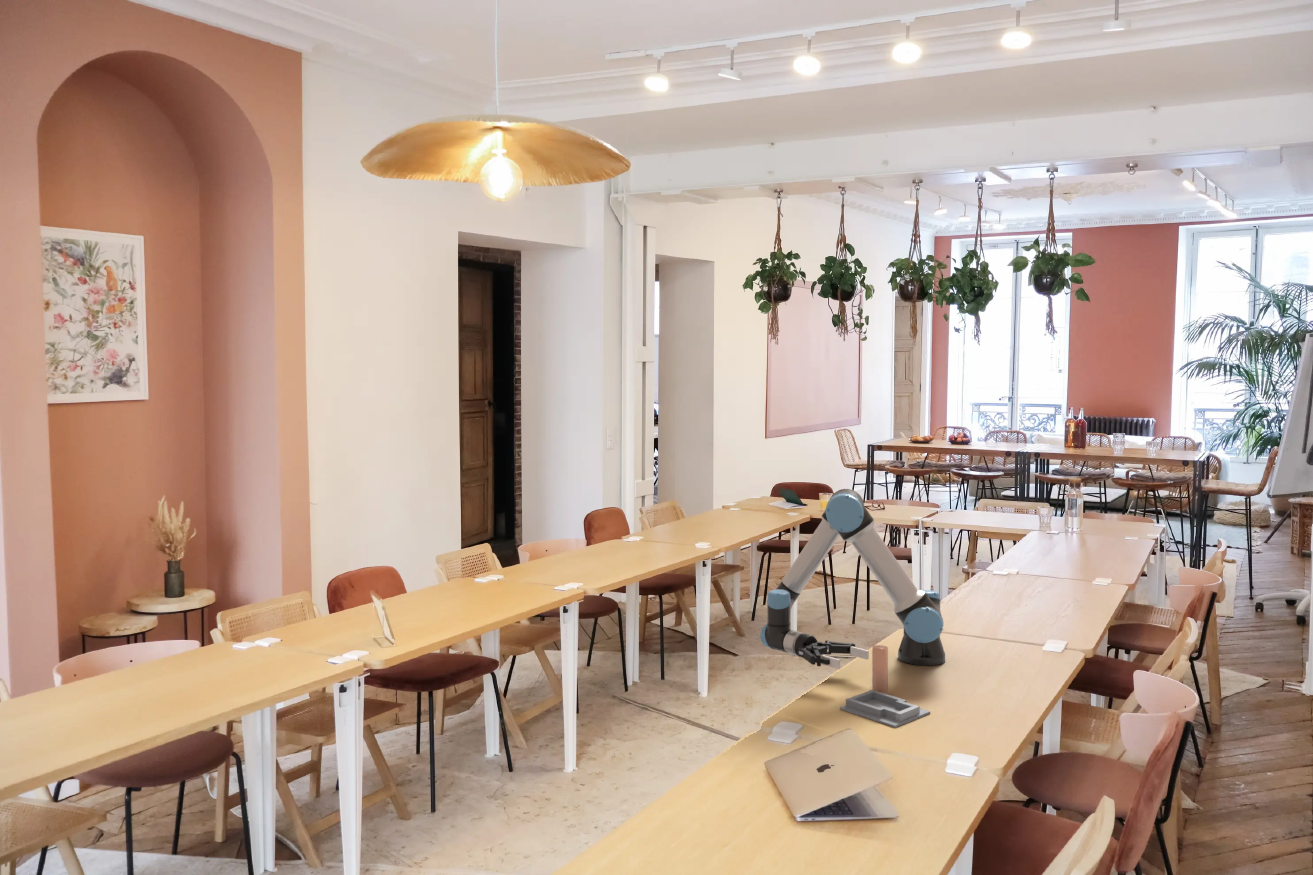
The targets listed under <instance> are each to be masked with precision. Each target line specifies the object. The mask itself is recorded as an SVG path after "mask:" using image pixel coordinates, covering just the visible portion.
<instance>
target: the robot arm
mask: <svg viewBox="0 0 1313 875" xmlns="http://www.w3.org/2000/svg"><path fill="white" fill-rule="evenodd" d="M874 525H875V519H874V518H873V517H872V515H871V513H870V511H868V509H867V508H866V506H865V501H864V499H863V497H862V496H861V495H860V494H859V492H857V491H855V490H854V489H851V488H841V489H839V490H837V491H835V492H834V493H833V494H832V495H831V496H830V498H829V500H828V501H827V503H826V507H825V510H824V511H823V513H822V515H821V521H820V523H819V524H818V526H817V527H816V528H815V530H814V532H813V533H812V535H811V537H810V538H809V540H808V541H807V542H806V544H805V545H804V547H803V548H802V550H800V551H801V552H800V553H799V554H798V556H797V558H796V559H795V560H794V562H793V563H792V565H791V566H790V568H789V569H788V571H787V572H786V574H785V575H784V577H783V578H782V580H781V582H780V583H779V584H778V586H777V587H776V588H775V589H771V590H769V591H768V592H767V597H766V598H767V600H766V603H767V604H766V606H767V610H766V611H767V612H766V613H767V624H765V625H763V627H762V628H761V632H760V633H759V639H760V642H761V643H762V645H763V646H764V647H768V648H770V649H772V650H774V651H775V650H776V651H779V652H782V653H786V654H790V655H792V656H793V657H796V656H797V657H800V658H801V659H804V660H805V661H806V662H808V663H809V664H810V665H812V666H814V665H816V667H821V666H822V665H824V666H827V667H829V668H830V667H831V668H834V669H838V670H840V669H841V659H840V658H835V657H832V656H829V655H832V654H843V655H846V654H847V655H850V656H852V657H857V658H860V659H863V660H865V661H866V660H867V661H868V660H869V659H870V658H869V656H870V655H869V650H868V649H864V648H861V647H856V644H855V643H853V642H851V643H849V642H841V641H840V642H839V641H831V640H828V639H827V640H826V639H825V640H824V642H823V641H818V640H817V638H816V637H815V636H814V635H812V634H808V633H804V632H801V631H797V630H795V629H794V630H793V629H791V612H792V608H793V606H794V604H795V602H796V601H797V600H798V598H799V597H800V595H801V593H802V591H803V590H804V588H805V587H806V586H807V585H808V583H809V582H810V580H811V579H812V577H813V575H814V574H815V572H816V571H817V570H818V568H819V567H820V565H821V564H822V562H823V561H824V560H825V558H826V557H827V555H828V553H829V552H830V551H831V549H832V548H833V546H834V545H835V544H836V541H837V540H838V539H839V537H841V539H842V540H843V541H845V542H848V543H851V544H852V546H853V548H854V550H856V551H857V553H858V555H859V556H860V557H861V558H862V560H863V562H864V563H865V564H866V566H867V567H868V569H869V570H870V571H871V573H872V574H873V575H874V577H875V579H876V580H877V581H878V583H879V584H880V585H881V587H882V588H883V590H884V591H885V593H886V594H887V596H888V597H889V598H890V599H891V601H892V602H893V604H894V606H893V612H894V613H895V615H896V616H897V618H898V619H899V621H900V622H901V623H902V625H903V636H902V638H901V641H900V645H899V648H898V650H897V651H898V652H897V659H898V660H899V661H901V662H904V663H906V664H908V665H909V664H910V665H915V666H925V667H926V666H937V665H942V664H944V663H945V662H946V652H945V650H944V646H943V642H942V639H941V634H942V631H943V629H944V618H943V616H942V613H941V601H942V599H941V594H940V592H939V591H936V590H929V589H918V588H917V587H916V585H915V584H914V582H913V580H911V579H910V577H909V575H908V573H906V571H905V569H904V568H903V567H902V566H901V563H899V561H898V560H897V558H896V557H895V555H894V554H893V553H892V551H891V550H890V548H889V547H888V546H887V544H886V543H885V542H884V540H883V539H882V538H881V536H880V534H879V532H877V530H876V529H875V528H874V527H875V526H874Z"/></svg>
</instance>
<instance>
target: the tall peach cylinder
mask: <svg viewBox="0 0 1313 875" xmlns="http://www.w3.org/2000/svg"><path fill="white" fill-rule="evenodd" d="M871 654H872V658H871V659H872V660H871V661H872V663H871V666H872V669H871V670H872V673H871V674H872V679H871V682H872V683H871V684H872V687H871V690H875V691H878V692H881V693H885V694H888V695H889V690H888V689H889V684H888V683H889V647H888V646H886V645H881V644H879V645H876V644H875V645H873V646H872V652H871Z"/></svg>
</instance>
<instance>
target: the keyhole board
mask: <svg viewBox="0 0 1313 875" xmlns="http://www.w3.org/2000/svg"><path fill="white" fill-rule="evenodd" d="M920 707H921V706H920V705H919V706H918V705H916V704H913V703H910V702H908V701H907V699H903V698H901V697H898V696H893V695H890V694H889V693H888V694H885V693H881V692H878V691H875V690H872V689H870V690H868V691H865V692H863V693H859V694H857V695H853V696H851V697H849V698H845V705H842V706H839V710H842V711H844V712H847V713H850V714H853V715H855V716H859V717H862V718H865V719H868V720H871V721H874V722H877V723H880V724H883V725H885V726H889V727H892V728H898V727H900V726H901V727H902V726H903V725H906V724H908V723H910V722H912V721H915V720H919V719H920V718H923V717H925V716H928V715H930V714H931V711H930V710H928V709H927V710H926V709H923V708H920Z"/></svg>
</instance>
